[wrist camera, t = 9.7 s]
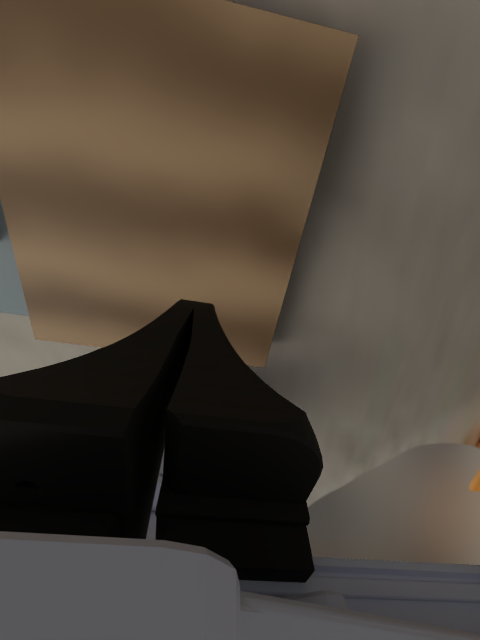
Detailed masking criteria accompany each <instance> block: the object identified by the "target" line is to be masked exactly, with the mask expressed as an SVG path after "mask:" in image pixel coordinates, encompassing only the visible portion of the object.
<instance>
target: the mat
mask: <svg viewBox="0 0 480 640" xmlns="http://www.w3.org/2000/svg"><path fill="white" fill-rule="evenodd" d="M0 312H2V313H9V314H17V315H24V316H29V313H28V309H27V305H26V301H25V297H24V293H23V289H22V285H21V280H20V276H19V272H18V268H17V264H16V260H15V256H14V252H13V248H12V244H11V240H10V236H9V232H8V228H7V224H6V220H5V216H4V212H3V208H2V203H1V199H0Z"/></svg>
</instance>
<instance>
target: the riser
mask: <svg viewBox="0 0 480 640" xmlns="http://www.w3.org/2000/svg"><path fill="white" fill-rule="evenodd" d="M358 36H359V35H355V34H351V33H348V32H344V31H340V30H336V29H332V28H329V27H325V26H321V25H317V24H313V23H310V22H306V21H302V20H298V19H294V18H291V17H287V16H283V15H279V14H275V13H272V12H268V11H264V10H260V9H256V8H252V7H249V6H245V5H241V4H237V3H233V2H230V1H226V0H0V199H1V203H2V208H3V212H4V216H5V220H6V224H7V228H8V232H9V236H10V240H11V244H12V248H13V252H14V256H15V260H16V264H17V268H18V272H19V276H20V280H21V285H22V289H23V293H24V297H25V301H26V305H27V309H28V313H29V317H30V321H31V325H32V329H33V333H34V337H35V339H38V340H46V341H54V342H62V343H70V344H78V345H86V346H95V347H106V346H108V345H111V344H113V343H115V342H117V341H119V340H121V339H123V338H125V337H127V336H129V335H131V334H133V333H135V332H136V331H138V330H140V329H141V328H143V327H144V326H146V325H147V324H149V323H150V322H152V321H153V320H155V319H156V318H157V317H159V316H160V315H161V314H163V313H164V312H165V311H166V310H168V309H169V308H170V307H171V306H173V305H174V304H175V303H176V302H177V301H179V300H180V299H184V300H191V301H197V302H204V303H211V304H213V305H214V306H215V311H216V314H217V317H218V320H219V322H220V325H221V327H222V329H223V331H224V333H225V335H226V336H227V338H228V340H229V342H230V343H231V345H232V346H233V348H234V349H235V351H236V352H237V354H238V355H239V356H240V358H241V359H242V360H243V361H244V363H245V364H246V365H248V366H256V367H265V363H266V360H267V356H268V353H269V349H270V346H271V342H272V339H273V335H274V332H275V328H276V325H277V321H278V318H279V314H280V311H281V307H282V304H283V300H284V297H285V293H286V290H287V286H288V283H289V279H290V276H291V272H292V269H293V265H294V261H295V258H296V254H297V251H298V247H299V244H300V240H301V237H302V233H303V230H304V226H305V223H306V219H307V216H308V212H309V209H310V205H311V202H312V198H313V195H314V191H315V188H316V184H317V181H318V177H319V174H320V170H321V166H322V163H323V159H324V156H325V152H326V149H327V145H328V142H329V138H330V135H331V131H332V128H333V124H334V121H335V117H336V114H337V110H338V107H339V103H340V100H341V96H342V93H343V89H344V86H345V82H346V79H347V75H348V72H349V68H350V64H351V61H352V57H353V54H354V50H355V47H356V43H357V40H358Z"/></svg>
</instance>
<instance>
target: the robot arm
mask: <svg viewBox="0 0 480 640" xmlns="http://www.w3.org/2000/svg"><path fill="white" fill-rule="evenodd" d="M322 469H323V461H322V455H321V452H320V448H319V445H318V442H317V439H316V436H315V434H314V431H313V429H312V426H311V424H310V422H309V420H308V417H307V415H306V413H305V412H304V411H303V410H301V409H300V408H298V407H297V406H295V405H294V404H292V403H291V402H289V401H288V400H287V399H285V398H284V397H282V396H281V395H279V394H278V393H277V392H276V391H274V390H273V389H272V388H271V387H269V386H268V385H267V384H266V383H265V382H263V381H262V380H261V379H260V378H259V377H258V376H257V375H256V374H255V373H254V372H253V371H252V370H251V369H250V368H249V367H248V366H247V365H246V364H245V363H244V361H243V360H242V359H241V358H240V356H239V355H238V354H237V352H236V351H235V349H234V348H233V346H232V345H231V343H230V342H229V340H228V338H227V336H226V335H225V333H224V331H223V329H222V327H221V325H220V322H219V320H218V317H217V314H216V311H215V306H214V305H213V304H211V303H204V302H197V301H191V300H184V299H180V300H179V301H177V302H176V303H175V304H174V305H173V306H171V307H170V308H169V309H168V310H166V311H165V312H164V313H163V314H161V315H160V316H159V317H157V318H156V319H155V320H153V321H152V322H150V323H149V324H147V325H146V326H144V327H143V328H141V329H140V330H138V331H136V332H135V333H133V334H131V335H129V336H127V337H125V338H123V339H121V340H119V341H117V342H115V343H113V344H111V345H108V346H106V347H103V348H101V349H98V350H96V351H93V352H91V353H88V354H85V355H83V356H80V357H77V358H73V359H70V360H67V361H64V362H60V363H57V364H54V365H50V366H46V367H43V368H39V369H34V370H30V371H26V372H21V373H17V374H12V375H8V376H4V377H0V640H480V565H468V564H466V565H465V564H449V563H429V562H428V563H427V562H409V561H390V560H371V559H352V558H350V559H349V558H332V557H313V556H312V553H311V548H310V543H309V538H308V533H307V528H306V525H308V524H309V520H310V517H309V512H308V507H307V503H306V500H307V499H308V497H309V495H310V493H311V491H312V490H313V488H314V486H315V484H316V483H317V481H318V479H319V477H320V475H321V472H322Z"/></svg>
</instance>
